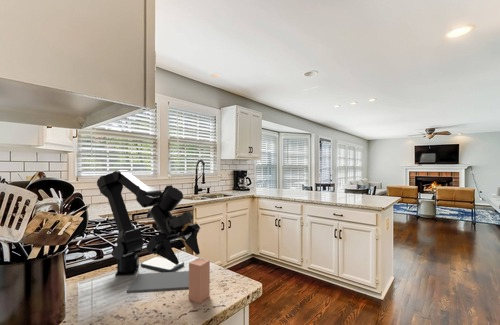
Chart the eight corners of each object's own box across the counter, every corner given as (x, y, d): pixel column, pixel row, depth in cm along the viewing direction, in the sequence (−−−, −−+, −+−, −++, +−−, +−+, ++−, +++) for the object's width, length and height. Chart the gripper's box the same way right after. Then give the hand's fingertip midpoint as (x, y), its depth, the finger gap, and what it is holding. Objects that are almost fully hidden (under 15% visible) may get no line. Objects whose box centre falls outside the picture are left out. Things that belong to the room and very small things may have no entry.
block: (188, 299, 76) (188, 262, 76) (198, 292, 79) (198, 258, 79) (199, 303, 73) (200, 265, 73) (209, 296, 77) (209, 260, 77)
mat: (126, 292, 79) (126, 290, 79) (138, 275, 91) (138, 273, 91) (197, 288, 82) (197, 286, 82) (199, 272, 94) (199, 270, 94)
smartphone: (139, 267, 99) (169, 274, 92) (139, 263, 99) (169, 270, 92) (156, 259, 107) (185, 265, 100) (156, 256, 107) (185, 261, 100)
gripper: (152, 208, 73) (179, 253, 68) (196, 200, 89) (221, 235, 84) (135, 231, 77) (160, 275, 72) (180, 220, 93) (203, 254, 88)
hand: (188, 258), depth 79 cm, fingers open, 9 cm apart
